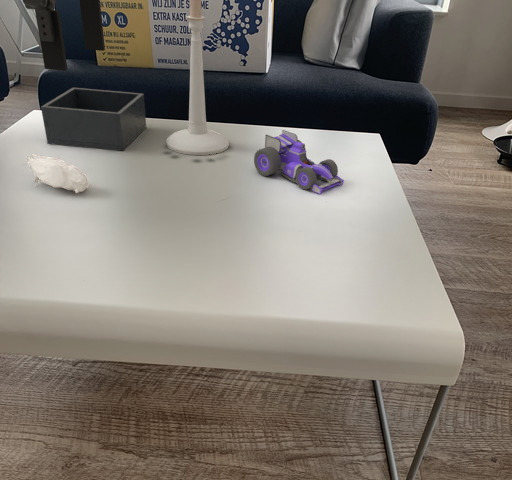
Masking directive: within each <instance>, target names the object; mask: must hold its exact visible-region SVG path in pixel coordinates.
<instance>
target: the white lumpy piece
mask: <svg viewBox="0 0 512 480" xmlns="http://www.w3.org/2000/svg"><path fill="white" fill-rule="evenodd" d="M31 155H32V156H33V157H32V156H31ZM31 155H28V154H26V157H25V160H26V162H27V164H28V166H29V168H30V171H32V173H34V178H33V182H34V183H35V185H34V187H36V186H37V185H38V184H39V183H44V184H46V185H49V186H50V187H52V188H53V189H54V188H62V189H65V190H67V191H72V192H73V193H74V192H75V194H78V193H83V192H84V191H85V190H87V189H88V188H89V187H90V186H91V184H90V181H89V180H88V176H87V175H86V174H85V173H84V172H83V171H82V170H81V169H79V168H78V167H77V166H75V165H73V164H70V163H68V162H66V160H63V159H60V158H56V157H53V156H43V155H39V154H34V153H32V154H31ZM38 182H39V183H38Z"/></svg>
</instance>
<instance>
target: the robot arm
mask: <svg viewBox="0 0 512 480" xmlns="http://www.w3.org/2000/svg"><path fill="white" fill-rule="evenodd" d="M78 1H79V9H80V16H81V25H82V33H83V41H84V49H85V50H89V51H100V52H104V51H106V45H105V37H104V36H105V35H104V27H103V18H102V17H103V16H102V7H101V0H78ZM56 2H57V0H22V3H23V5H24V7H25V8H26V10H34V12H35V13H34V14H35V18H36V24H37V30H38V36H39V43H40V48H41V54H42V59H43V66H44V69H45V70H53V71H65V72H66V71H68V70H69V69H68V62H67V55H66V48H65V47H66V46H65V41H64V34H63V28H62V21H61V13H60V10H59V9H58V10H57V9H55V8H56Z"/></svg>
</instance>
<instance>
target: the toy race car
mask: <svg viewBox="0 0 512 480" xmlns="http://www.w3.org/2000/svg"><path fill="white" fill-rule="evenodd" d="M253 164H254V167H255V169H256V171H257V173H258V174H260V175H261V176H262V177H268V176H271V175H274V174H277V173H278V172H279V171H280V170H282V171H280V172H279V174H280V175H281V176H282V177H284V178H286V179H287V180H289V181H291V182H292V183H296V184H297V186H298V187H299V189H301V190H305V191H306V190H309V189H311V191H312V192H314V193H316V194H319V195H321V194H322V193H323V191H325V190H329V189H330V188H333V187H335V186H338V185H340V186H344V182H345V180H344V179H343V178H341V176H339V175H338V173H339V168H338V164H337V163H336V162H335V161H334V160H333V159H330V158H327V159H324V160H321V161H320V162H319V163H318V164H317V163H315V162H314V161H313V160H312V159H309V158H308V156H307V149H306V144H305V143H303V142H302V141H301V140H300V139H298V134H296V133H294V132H290V131H287V130H284V129H281V134H279V135H277V136H271V135H269V134H265V138H264V147H263V148H259V149H258V150H256V151H255V153H254V156H253ZM317 181H323V182H327V183H324V184H320V185H318V184H317Z"/></svg>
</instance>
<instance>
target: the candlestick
mask: <svg viewBox="0 0 512 480" xmlns="http://www.w3.org/2000/svg"><path fill="white" fill-rule="evenodd" d="M185 18H186V19H187V20H188V28H189V30H190V33H191V38H190V61H189V62H190V64H189V102H188V105H189V106H188V107H189V108H188V127H187V128H185V129H181V130H178V131H175V132H174V133H171V134H170V135H169V136H168V137H167V139H166V141H165V142H166V147H167V148H168V149H169V150H171V151H173V152H176V153H178V154H183V155H189V156H210V155H211V156H212V155H217V154H220V153H223V152H225V151H227V150H228V149H229V147H230V142H229V141H230V140H229V139H227V137H226V136H225V135H224V134H222V133H219V132H218V131H215V130H212V129H208V127H207V115H206V96H205V81H204V80H205V79H204V63H203V45H202V42H203V40H202V37H201V33H202V30H203V29H204V25H203V24H204V20H206V19H207V18H206V16H203V15H202V0H189V15H186V16H185ZM216 153H217V154H216ZM209 154H210V155H209Z"/></svg>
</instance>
